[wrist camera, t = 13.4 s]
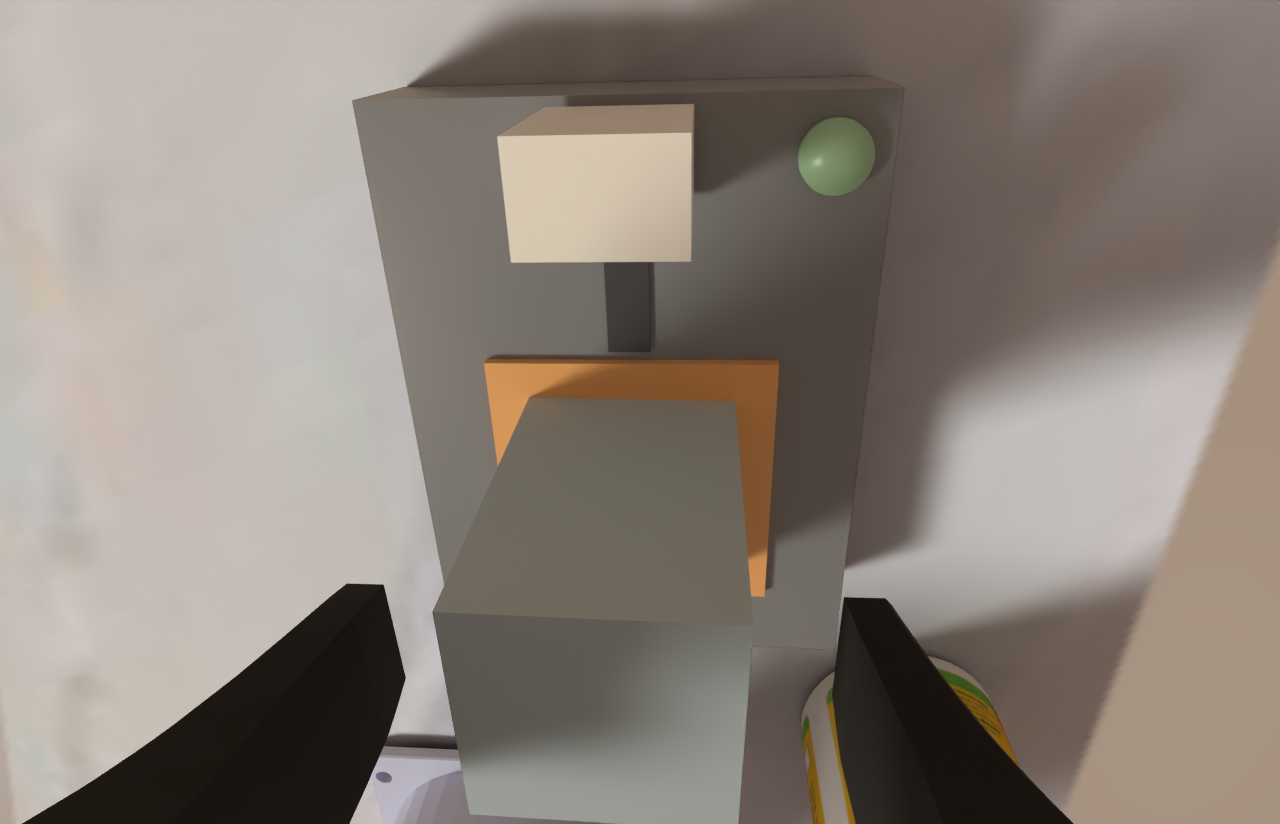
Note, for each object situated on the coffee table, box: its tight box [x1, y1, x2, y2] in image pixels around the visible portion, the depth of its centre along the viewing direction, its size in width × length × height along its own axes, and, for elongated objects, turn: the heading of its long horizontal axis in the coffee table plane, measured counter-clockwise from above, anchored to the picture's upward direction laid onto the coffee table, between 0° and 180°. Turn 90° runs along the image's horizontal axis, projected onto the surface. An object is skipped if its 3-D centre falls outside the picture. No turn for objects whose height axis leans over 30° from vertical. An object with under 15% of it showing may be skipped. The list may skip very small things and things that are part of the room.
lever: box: [497, 104, 694, 263], centre depth 11 cm, size 2×2×3 cm
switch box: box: [352, 76, 904, 649], centre depth 16 cm, size 12×9×3 cm
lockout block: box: [433, 397, 754, 824], centre depth 13 cm, size 4×4×6 cm
